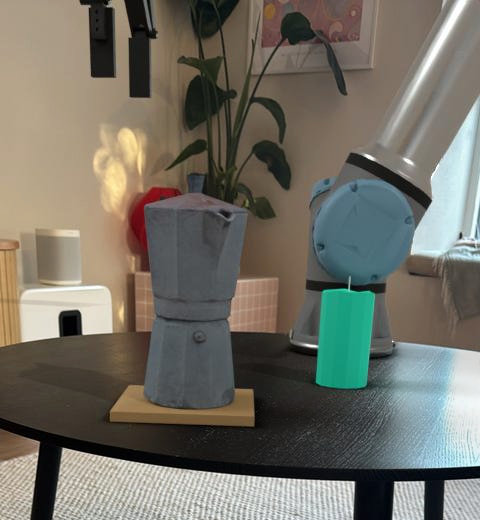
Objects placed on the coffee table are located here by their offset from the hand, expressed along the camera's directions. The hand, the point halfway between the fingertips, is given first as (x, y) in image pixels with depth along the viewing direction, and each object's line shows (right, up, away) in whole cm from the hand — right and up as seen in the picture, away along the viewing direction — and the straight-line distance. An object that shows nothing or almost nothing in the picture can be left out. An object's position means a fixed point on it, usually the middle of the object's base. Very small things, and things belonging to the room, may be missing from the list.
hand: (123, 88), depth 90 cm
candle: (+26, -36, -1) cm, 44 cm away
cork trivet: (+9, -41, -16) cm, 45 cm away
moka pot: (+9, -40, -17) cm, 44 cm away
